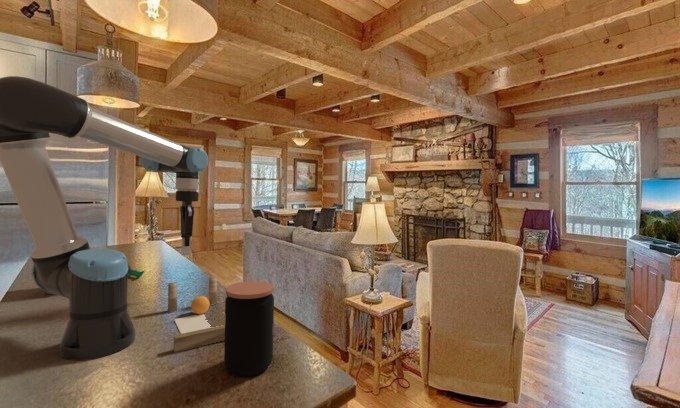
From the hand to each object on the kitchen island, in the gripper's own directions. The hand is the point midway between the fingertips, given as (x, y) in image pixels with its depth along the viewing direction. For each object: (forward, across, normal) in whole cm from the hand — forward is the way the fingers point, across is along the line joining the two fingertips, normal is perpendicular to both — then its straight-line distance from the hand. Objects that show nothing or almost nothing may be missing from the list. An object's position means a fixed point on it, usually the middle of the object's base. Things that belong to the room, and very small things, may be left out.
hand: (186, 254), depth 119 cm
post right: (+16, -13, -7) cm, 21 cm away
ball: (+13, -20, -1) cm, 24 cm away
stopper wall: (+16, -42, 0) cm, 45 cm away
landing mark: (+16, -28, 0) cm, 32 cm away
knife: (+16, +41, +15) cm, 47 cm away
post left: (+16, -13, +6) cm, 21 cm away
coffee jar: (+16, -58, -3) cm, 60 cm away
